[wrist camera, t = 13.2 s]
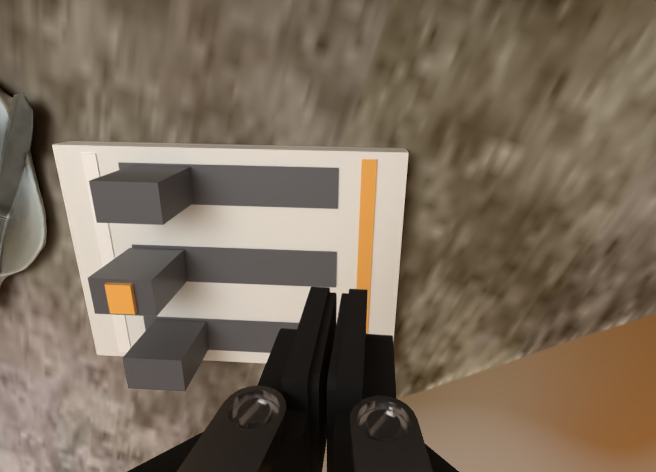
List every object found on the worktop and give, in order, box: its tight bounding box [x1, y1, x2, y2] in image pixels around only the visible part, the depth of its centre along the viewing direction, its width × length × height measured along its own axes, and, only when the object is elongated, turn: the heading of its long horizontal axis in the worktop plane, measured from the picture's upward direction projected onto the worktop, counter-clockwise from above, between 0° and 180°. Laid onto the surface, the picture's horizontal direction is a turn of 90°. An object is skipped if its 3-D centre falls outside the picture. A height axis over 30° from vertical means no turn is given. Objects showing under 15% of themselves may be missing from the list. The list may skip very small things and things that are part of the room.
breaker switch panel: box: [52, 141, 409, 391], centre depth 29 cm, size 24×17×7 cm
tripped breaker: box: [88, 248, 187, 316], centre depth 28 cm, size 4×2×5 cm, turn 89°
